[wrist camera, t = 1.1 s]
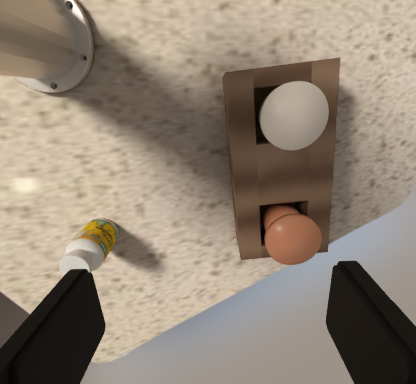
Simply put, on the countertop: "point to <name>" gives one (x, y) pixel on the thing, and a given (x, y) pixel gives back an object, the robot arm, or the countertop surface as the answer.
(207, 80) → the countertop surface
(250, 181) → the wooden shaker caddy
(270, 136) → the cream button
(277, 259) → the orange-brown round piece
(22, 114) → the countertop surface
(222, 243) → the countertop surface
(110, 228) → the supplement bottle
